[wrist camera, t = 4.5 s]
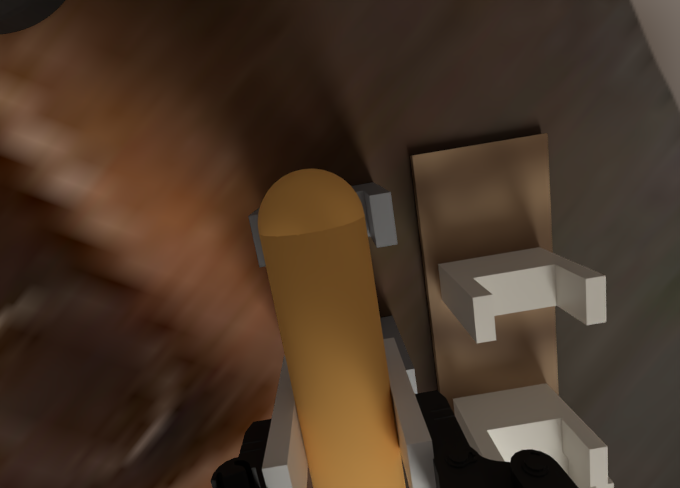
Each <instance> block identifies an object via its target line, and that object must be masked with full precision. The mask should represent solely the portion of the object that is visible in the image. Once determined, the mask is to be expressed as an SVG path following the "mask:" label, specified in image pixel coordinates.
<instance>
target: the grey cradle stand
mask: <svg viewBox="0 0 680 488" xmlns="http://www.w3.org/2000/svg"><path fill="white" fill-rule="evenodd" d="M351 187H352V188H353V189H354V191H355V192H356V193H357V195H358V197H359V199H360V201H361V203H362V206H363V210H364V214H365V221H366V227H367V234H368V237H370V236H371V238H372V240H373V242H374V243H375V245H376V247H377V248H378V247H384V246H390V245H396V244H397V236H396V229H395V221H394V214H393V206H392V199H391V192H389V191H388V190H386V189H384V188H382V187H381V186H379V185H377V184H375V183H374V182H372V183H366V184H360V185H354V186H351ZM259 209H260V207H259V208H258V209H257V210H256V211H254V212H253V213H252V214H250V215H249V221H250V225H251V230H252V235H253V239H254V244H255V248H256V253H257V258H258V262H259V267H264V266H266V264H265V260H264V255H263V250H262V246H261V241H260V236H259V231H258V213H259ZM380 320H381V327H382V334H383V339H388V338H394V339H395V342H396V344H397V347H398V350H399V353H400V355H401V358H402V361H403V363H404V366H405V369H406V372H407V374H408V377H409V380H410V383H411V385H412V388H413V391H414V393H415V394H418V393H417V386H416V378H415V371H414V367H413V365H412V362H411V360H410V357H409V355H408V352H407V350H406V348H405V345H404V343H403V340H402V338H401V335H400V333H399V331H398V328H397V326H396V323H395V321H394V318H393V316H388V317H382V318H380Z"/></svg>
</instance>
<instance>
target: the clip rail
mask: <svg viewBox="0 0 680 488" xmlns="http://www.w3.org/2000/svg"><path fill="white" fill-rule="evenodd" d="M410 160H411V169H412V177H413V185H414V194H415V202H416V210H417V219H418V227H419V235H420V244H421V252H422V260H423V268H424V277H425V285H426V293H427V302H428V310H429V318H430V327H431V335H432V343H433V352H434V360H435V368H436V377H437V385H438V392H439V393H441V394H442V395H443V396H445V397H446V399H447V401H448V403H449V405H450V407H451V409H452V411H453V413H454V415H455V412H454V403H453V399H454V398H460V397H466V396H472V395H478V394H484V393H490V392H496V391H502V390H508V389H515V388H521V387H527V386H533V385H539V384H545V383H547V384H548V385H549V386H550V388H551V389H552V390H553V391H554V392H555V393H556V394H557V395H558V396H559V393H558V369H557V345H556V322H555V306H551V307H545V308H539V309H533V310H527V311H521V312H515V313H509V314H503V315H497V316H494V318H495V331H496V340H495V341H489V342H483V343H476V342H475V341H474V339H473V338H472V337H471V336H470V334H469V333H468V332H467V331H466V329H465V328H464V327H463V326H462V324H461V323H460V322H459V321H458V319H457V318H456V317H455V316H454V314H453V313H452V312H451V311H450V309H449V308H448V307H447V306H446V304H445V303H444V302H443V301H442V295H441V286H440V277H439V268H438V264H442V263H448V262H454V261H460V260H466V259H472V258H478V257H484V256H490V255H496V254H502V253H508V252H514V251H520V250H525V249H531V248H537V247H540V248H543V249H545V250H547V251H550V252H552V253H553V250H552V227H551V203H550V179H549V155H548V133H543V134H537V135H531V136H525V137H519V138H513V139H507V140H501V141H495V142H489V143H483V144H477V145H471V146H465V147H459V148H453V149H447V150H441V151H435V152H429V153H423V154H417V155H411V156H410Z"/></svg>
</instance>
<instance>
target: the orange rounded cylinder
mask: <svg viewBox="0 0 680 488" xmlns="http://www.w3.org/2000/svg"><path fill="white" fill-rule="evenodd" d="M258 231H259V236H260V241H261V246H262V250H263V255H264V260H265V264H266V269H267V274H268V278H269V283H270V288H271V292H272V297H273V302H274V306H275V311H276V316H277V320H278V325H279V330H280V334H281V339H282V344H283V348H284V353H285V358H286V362H287V367H288V372H289V376H290V381H291V386H292V390H293V395H294V400H295V404H296V409H297V414H298V418H299V423H300V428H301V432H302V437H303V442H304V446H305V451H306V456H307V460H308V465H309V470H310V474H311V479H312V484H313V488H406V487H405V480H404V473H403V467H402V460H401V453H400V448H399V441H398V435H397V428H396V421H395V415H394V408H393V402H392V395H391V388H390V380H389V374H388V367H387V360H386V354H385V347H384V340H383V334H382V327H381V320H380V314H379V307H378V300H377V294H376V287H375V280H374V274H373V267H372V260H371V254H370V247H369V241H368V234H367V227H366V221H365V214H364V210H363V206H362V203H361V201H360V199H359V197H358V195H357V193H356V192H355V191H354V189H353V188H352V187H351V185H349V184H348V183H347V182H346V181H345V180H344V179H343V178H341V177H339V176H337V175H336V174H334V173H331V172H328V171H325V170H321V169H313V168H312V169H301V170H297V171H294V172H291V173H289V174H287V175H285V176H283V177H281V178H280V179H279V180H278V181H276V182H275V183H274V184H273V185H272V186H271V188H270V189H269V190H268V191H267V193H266V195H265V196H264V198H263V200H262V202H261V206H260V209H259V213H258Z"/></svg>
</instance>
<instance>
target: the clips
mask: <svg viewBox="0 0 680 488" xmlns="http://www.w3.org/2000/svg"><path fill="white" fill-rule="evenodd" d="M438 268H439V277H440V286H441V295H442V301H443V302H444V303H445V304H446V306H447V307H448V308H449V309H450V311H451V312H452V313H453V314H454V316H455V317H456V318H457V319H458V321H459V322H460V323H461V324H462V326H463V327H464V328H465V329H466V331H467V332H468V333H469V334H470V336H471V337H472V338H473V339H474V341H475V342H476V343H483V342H489V341H495V340H496V331H495V318H494V316H497V315H503V314H509V313H515V312H521V311H527V310H533V309H539V308H545V307H551V306H558V307H560V308H561V309H563V310H564V311H566V312H567V313H569V314H570V315H572V316H573V317H575V318H577V319H578V320H580V321H581V322H583V323H584V324H586V325H591V324H597V323H603V322H606V276H605V275H603V274H601V273H598V272H596V271H594V270H591V269H589V268H587V267H585V266H582V265H580V264H578V263H575V262H573V261H571V260H568V259H566V258H564V257H561V256H559V255H557V254H554V253H552V252H550V251H547V250H545V249H543V248H540V247H537V248H531V249H525V250H520V251H514V252H508V253H502V254H496V255H490V256H484V257H478V258H472V259H466V260H460V261H454V262H448V263H442V264H438ZM453 403H454V412H455V417H456V419H457V421H458V423H459V425H460V427H461V429H462V431H463V433H464V435H465V437H466V439H467V441H468V443H469V445H470V447H472V448H473V449H474V450H476V451H477V452H478V454H479V455H480V456H482V457H484V458H487V459H490V460H495V461H504V462H510V461H511V457H512V456H513V455H514V454H515V453H516V452H518V451H521V450H527V449H532V450H537V451H541V452H543V453H545V454H548V455H550V456H551V457H552V458H553V459H554V460H555V461H557V462H558V464H559V465H560V466H561V467H562V468H563V470H564V471H565V472H566V473H567V474H568V476H569V477H570V478H571V479H572V481H573V482H574V483H575V484H576V485H577V487H578V488H614V483H613V482H612V480H611V479H610V478H609V477H608V447H607V446H606V445H605V443H604V442H603V441H602V440H601V439H600V438H599V437H598V436H597V435H596V434H595V433H594V432H593V431H592V430H591V429H590V428H589V427H588V426H587V425H586V424H585V423H584V422H583V421H582V420H581V419H580V418H579V417H578V416H577V414H576V413H575V412H574V411H573V410H572V409H571V408H570V407H569V406H568V405H567V404H566V403H565V402H564V401H563V400H562V399H561V398H560V397H559V396H558V395H557V394H556V393H555V392H554V391H553V390H552V389H551V388H550V386H549V385H548V384H547V383H545V384H539V385H533V386H527V387H521V388H515V389H508V390H502V391H496V392H490V393H484V394H478V395H472V396H466V397H460V398H454V399H453Z"/></svg>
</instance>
